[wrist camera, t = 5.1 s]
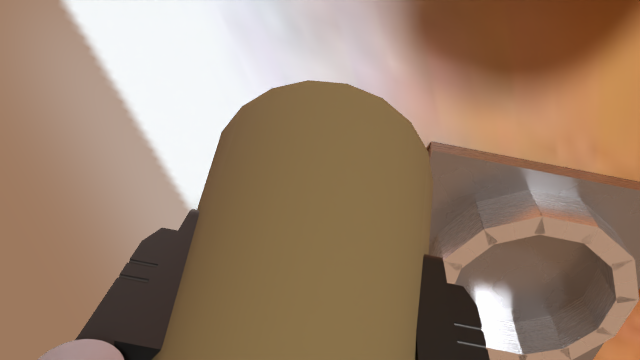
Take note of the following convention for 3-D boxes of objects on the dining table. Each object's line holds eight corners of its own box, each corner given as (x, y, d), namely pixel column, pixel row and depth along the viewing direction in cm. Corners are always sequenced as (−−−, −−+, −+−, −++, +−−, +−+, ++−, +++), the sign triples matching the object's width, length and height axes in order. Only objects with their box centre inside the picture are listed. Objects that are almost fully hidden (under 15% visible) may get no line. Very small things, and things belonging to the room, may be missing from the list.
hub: (380, 310, 31) (379, 352, 28) (431, 141, 25) (437, 173, 22) (584, 351, 31) (604, 398, 28) (685, 191, 25) (726, 230, 22)
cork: (355, 299, 15) (320, 937, 6) (180, 210, 14) (-193, 820, 5) (481, 158, 13) (792, 966, 3) (274, 32, 11) (-203, 699, 2)
